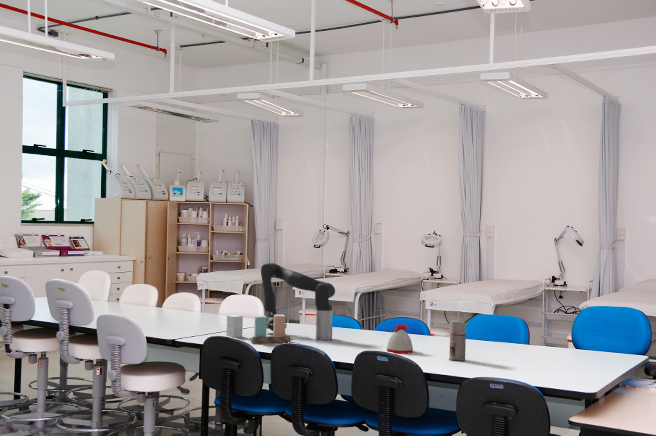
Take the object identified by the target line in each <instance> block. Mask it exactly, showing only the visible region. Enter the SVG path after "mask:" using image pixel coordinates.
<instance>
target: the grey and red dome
mask: <svg viewBox="0 0 656 436" xmlns="http://www.w3.org/2000/svg"><path fill="white" fill-rule="evenodd" d="M395 327H396V328H394V327H393V330H394V332H393V333H392V334H390V335H391V336H390V337H389V338H388V342H387V345H386V346H387V347H386V352H388V353H390V352H393V353H392V354H404V355H406V354H413V353H414V347H413V343H412V339H411V337H410V336H409V334H408V333H407V332H406V330H407V328H408V325H406V323H398V324H397V325H396V326H395Z"/></svg>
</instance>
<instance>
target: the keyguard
mask: <svg viewBox="0 0 656 436" xmlns="http://www.w3.org/2000/svg"><path fill="white" fill-rule="evenodd" d="M249 341H250V343H251V344H253V345H254V344H257V345H258V344H259V345H260V344H262V345H263V344H264V345H265V344H268V345H269V344H275V345H276V344H291V336H290V335H285V336H273V335H272V336H270V335H269V336H268V335H266V336H265V337H254V336H252V337H249ZM288 342H289V343H288Z"/></svg>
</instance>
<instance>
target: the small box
mask: <svg viewBox="0 0 656 436" xmlns="http://www.w3.org/2000/svg"><path fill="white" fill-rule="evenodd" d="M243 320H244V318H243V316H242V315H238V314H229V315H228V314H227V315H226V337H229V336H230V337H229V338H233V337H234V338H243V324H244V323H243V322H244V321H243Z"/></svg>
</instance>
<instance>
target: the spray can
mask: <svg viewBox="0 0 656 436" xmlns="http://www.w3.org/2000/svg"><path fill="white" fill-rule="evenodd" d="M466 335H467V328H466V323H465V322H464V321H461V320H453V319H451V320H450V322H449V358H448V359H449V360H452V361H466V347H467V346H466V341H467V340H466V337H467V336H466Z"/></svg>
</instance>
